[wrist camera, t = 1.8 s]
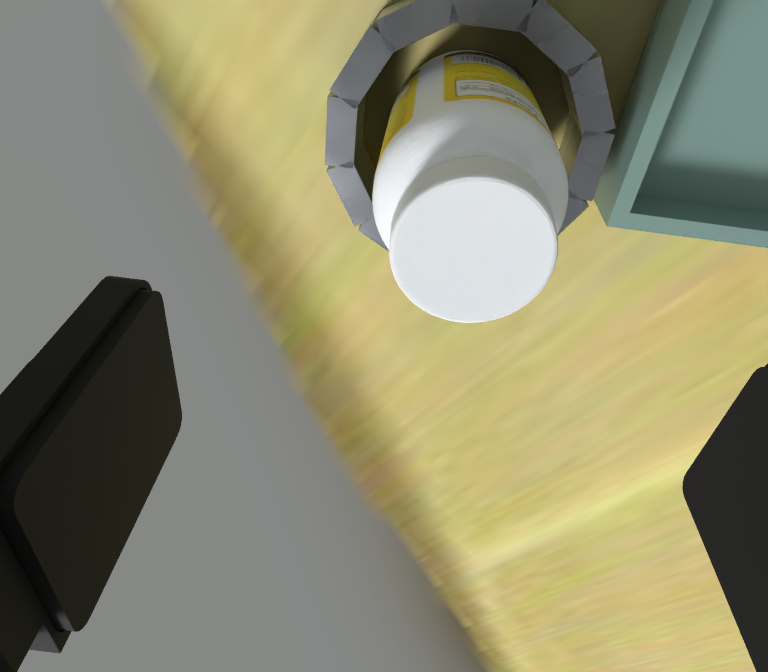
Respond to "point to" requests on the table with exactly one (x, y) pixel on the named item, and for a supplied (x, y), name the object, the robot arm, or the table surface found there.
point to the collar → (484, 9)
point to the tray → (695, 127)
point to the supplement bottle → (469, 189)
